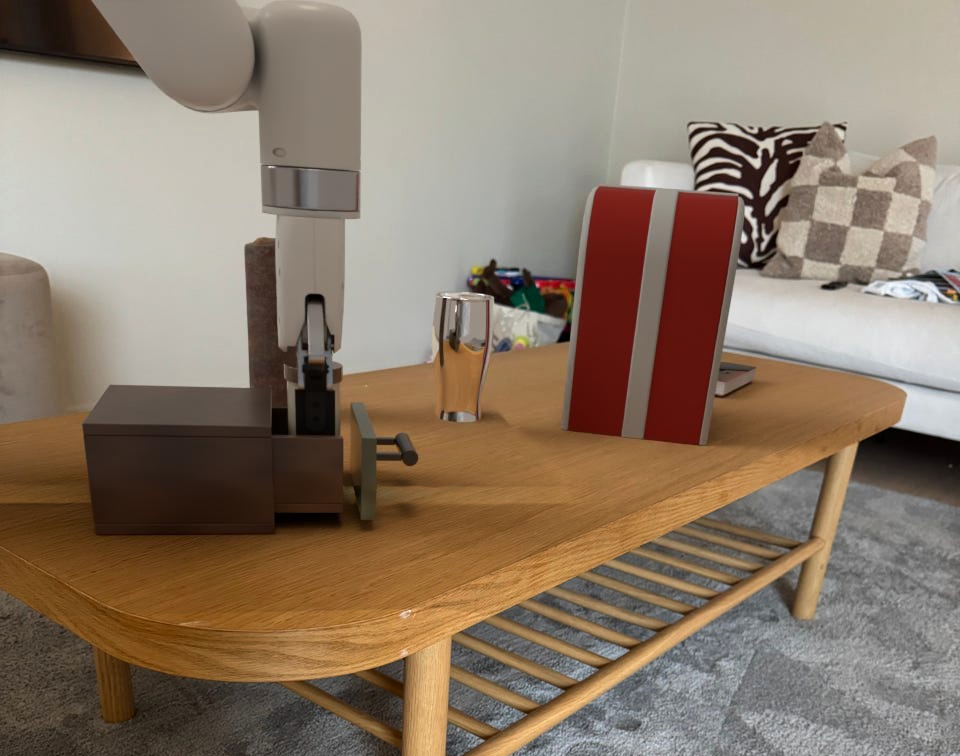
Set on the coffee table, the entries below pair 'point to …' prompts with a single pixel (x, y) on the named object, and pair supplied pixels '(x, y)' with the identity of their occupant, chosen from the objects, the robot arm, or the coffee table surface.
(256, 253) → the candle
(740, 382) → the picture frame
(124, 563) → the coffee table surface
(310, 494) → the drawer
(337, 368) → the spice jar
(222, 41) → the robot arm
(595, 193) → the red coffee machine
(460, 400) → the beer glass
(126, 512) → the cabinet
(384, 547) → the coffee table surface
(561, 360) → the coffee table surface
